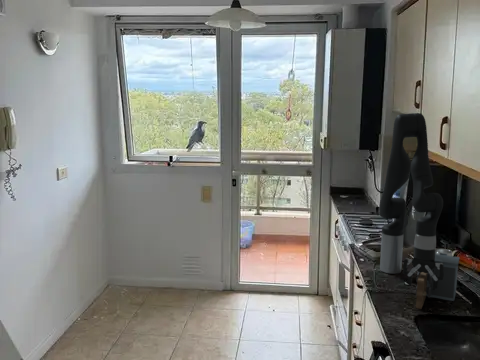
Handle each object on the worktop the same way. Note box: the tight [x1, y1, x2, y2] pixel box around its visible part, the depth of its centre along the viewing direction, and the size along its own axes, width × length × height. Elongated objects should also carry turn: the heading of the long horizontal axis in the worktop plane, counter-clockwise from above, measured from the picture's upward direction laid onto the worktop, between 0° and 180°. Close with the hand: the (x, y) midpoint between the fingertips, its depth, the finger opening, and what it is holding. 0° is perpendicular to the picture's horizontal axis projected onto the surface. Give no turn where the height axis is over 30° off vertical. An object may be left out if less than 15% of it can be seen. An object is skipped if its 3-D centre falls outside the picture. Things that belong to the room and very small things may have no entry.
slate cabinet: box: [415, 254, 460, 302], centre depth 190 cm, size 12×14×15 cm
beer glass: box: [435, 248, 453, 256], centre depth 200 cm, size 7×7×15 cm
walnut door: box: [415, 272, 427, 310], centre depth 183 cm, size 12×3×11 cm, turn 152°
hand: (422, 287), depth 184 cm, fingers open, 8 cm apart
